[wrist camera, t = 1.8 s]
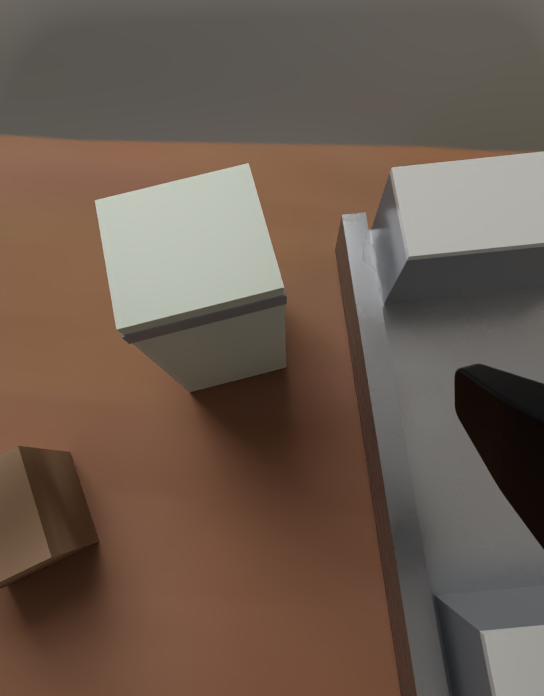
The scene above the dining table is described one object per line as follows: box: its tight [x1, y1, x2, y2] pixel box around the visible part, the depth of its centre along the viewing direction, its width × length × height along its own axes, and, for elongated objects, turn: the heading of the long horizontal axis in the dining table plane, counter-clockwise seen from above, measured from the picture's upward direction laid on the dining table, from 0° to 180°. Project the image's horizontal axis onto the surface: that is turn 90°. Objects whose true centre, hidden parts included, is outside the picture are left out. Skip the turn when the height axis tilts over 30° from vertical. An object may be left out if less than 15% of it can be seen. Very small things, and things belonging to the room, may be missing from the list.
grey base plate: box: [335, 212, 544, 696], centre depth 18 cm, size 19×10×3 cm, turn 5°
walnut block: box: [0, 446, 99, 588], centre depth 17 cm, size 4×4×4 cm
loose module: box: [95, 163, 287, 392], centre depth 17 cm, size 4×5×9 cm
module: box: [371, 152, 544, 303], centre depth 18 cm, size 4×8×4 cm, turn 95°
